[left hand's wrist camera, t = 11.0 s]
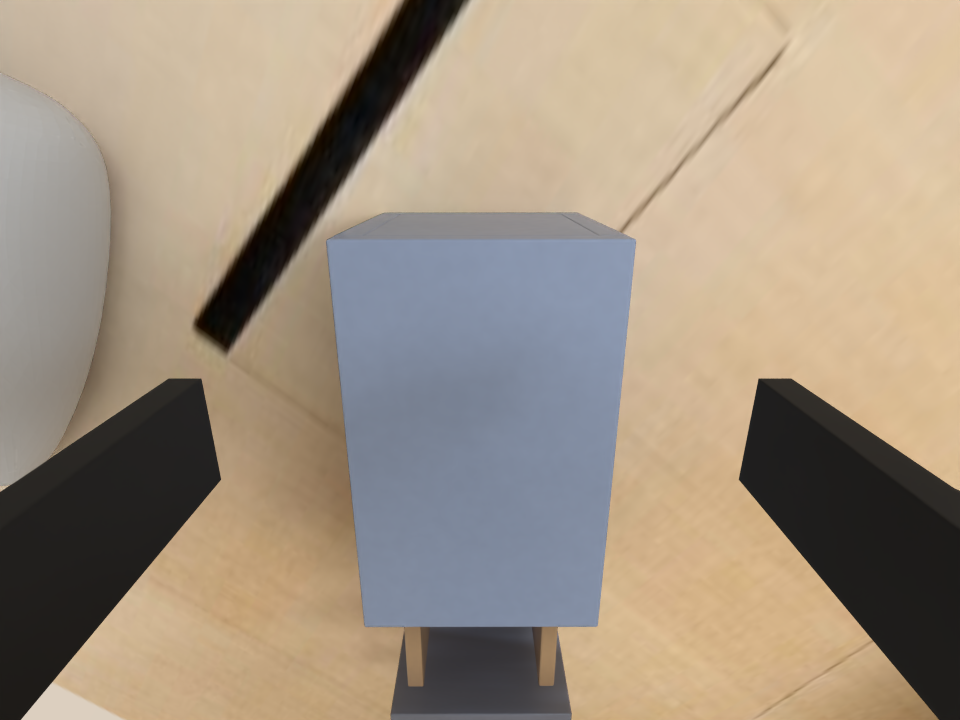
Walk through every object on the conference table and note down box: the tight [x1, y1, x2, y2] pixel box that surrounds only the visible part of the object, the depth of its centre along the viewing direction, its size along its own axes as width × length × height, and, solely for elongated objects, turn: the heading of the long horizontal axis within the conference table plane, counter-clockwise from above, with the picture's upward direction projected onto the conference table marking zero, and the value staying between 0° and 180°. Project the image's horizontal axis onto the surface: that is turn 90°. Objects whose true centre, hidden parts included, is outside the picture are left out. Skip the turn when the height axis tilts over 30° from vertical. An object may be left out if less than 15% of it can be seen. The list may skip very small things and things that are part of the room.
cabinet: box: [326, 213, 636, 627], centre depth 26 cm, size 17×11×11 cm, turn 0°
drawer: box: [391, 627, 572, 720], centre depth 30 cm, size 21×9×9 cm, turn 0°
